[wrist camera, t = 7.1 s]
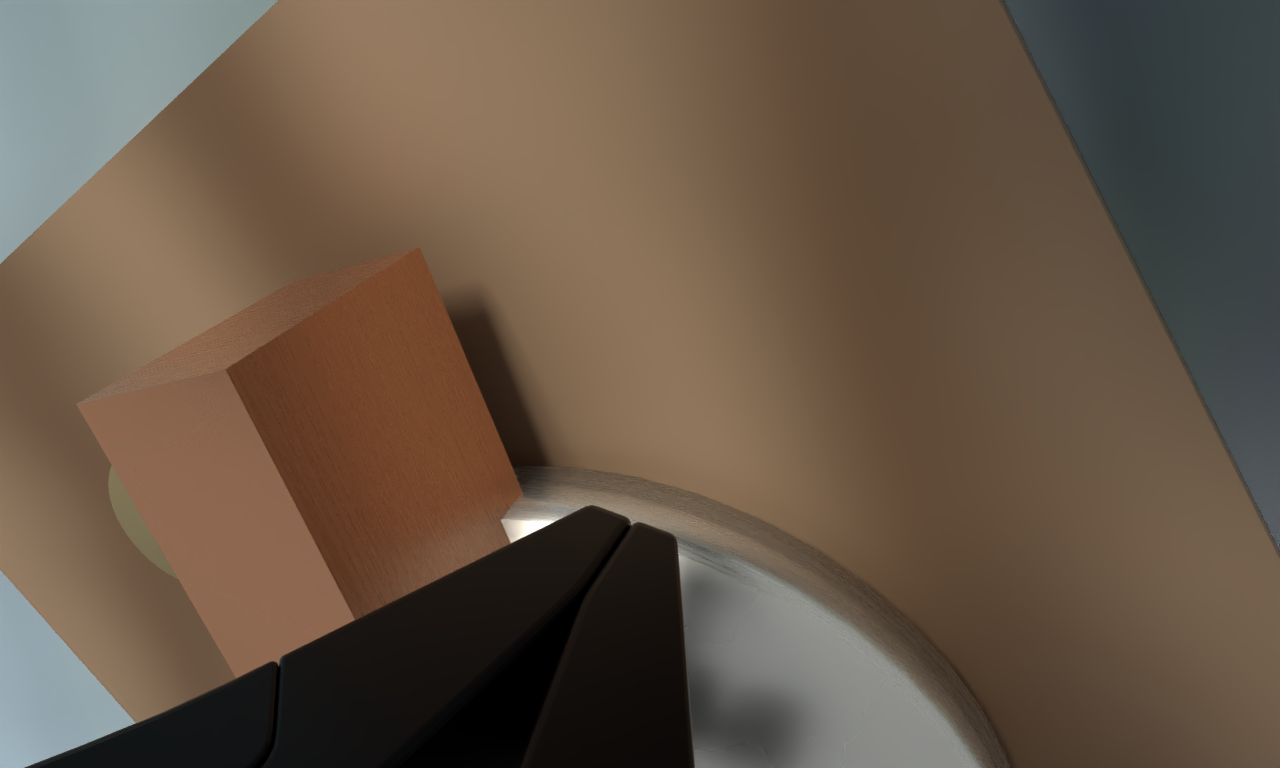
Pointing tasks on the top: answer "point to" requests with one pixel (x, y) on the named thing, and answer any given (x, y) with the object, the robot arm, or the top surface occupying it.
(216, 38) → the top surface
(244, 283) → the base board
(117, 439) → the flange plate
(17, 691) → the top surface
